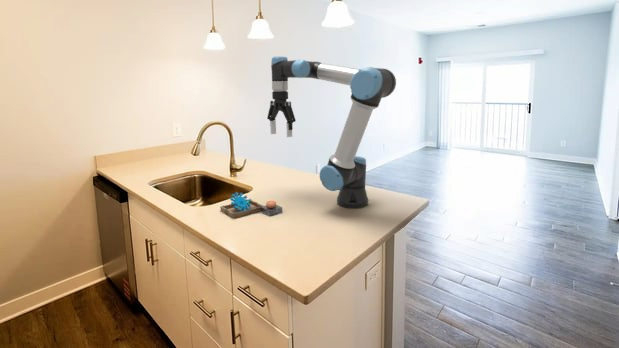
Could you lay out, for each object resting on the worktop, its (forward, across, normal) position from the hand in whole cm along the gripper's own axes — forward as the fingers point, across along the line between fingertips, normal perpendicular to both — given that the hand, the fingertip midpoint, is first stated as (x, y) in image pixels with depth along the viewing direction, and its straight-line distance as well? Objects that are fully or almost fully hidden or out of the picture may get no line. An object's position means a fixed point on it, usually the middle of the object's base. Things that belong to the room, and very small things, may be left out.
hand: (281, 135), depth 171 cm
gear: (+31, -5, +26) cm, 41 cm away
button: (+30, -15, +17) cm, 37 cm away
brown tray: (+32, -5, +26) cm, 41 cm away
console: (+32, -15, +17) cm, 39 cm away
